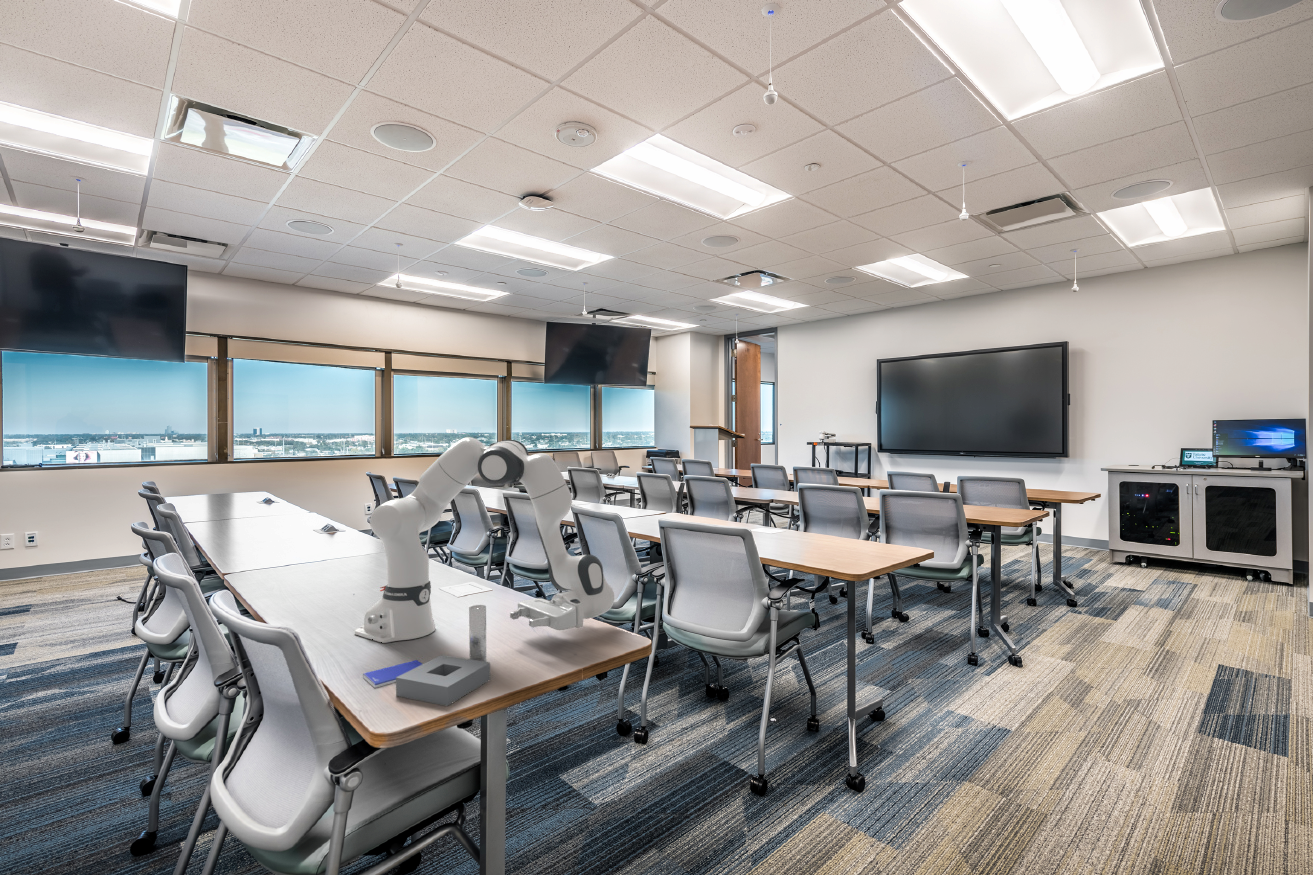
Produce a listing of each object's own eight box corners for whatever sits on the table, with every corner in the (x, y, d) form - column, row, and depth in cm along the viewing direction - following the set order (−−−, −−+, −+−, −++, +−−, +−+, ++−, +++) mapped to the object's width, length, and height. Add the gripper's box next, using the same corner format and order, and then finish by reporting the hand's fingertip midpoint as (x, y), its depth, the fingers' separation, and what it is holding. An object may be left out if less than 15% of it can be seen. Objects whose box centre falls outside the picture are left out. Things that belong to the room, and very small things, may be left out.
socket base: (396, 695, 126) (396, 677, 126) (442, 671, 139) (441, 654, 139) (447, 706, 121) (447, 686, 121) (490, 679, 134) (490, 662, 134)
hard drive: (374, 683, 130) (429, 668, 139) (362, 672, 136) (416, 658, 145) (374, 690, 130) (429, 674, 139) (362, 679, 136) (416, 665, 145)
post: (466, 665, 143) (465, 608, 143) (476, 659, 146) (476, 604, 146) (479, 667, 141) (479, 610, 141) (489, 661, 145) (489, 605, 145)
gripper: (543, 590, 169) (500, 600, 160) (586, 604, 155) (542, 615, 145) (543, 612, 169) (500, 622, 160) (586, 628, 155) (542, 641, 145)
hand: (520, 619), depth 152 cm, fingers open, 8 cm apart
